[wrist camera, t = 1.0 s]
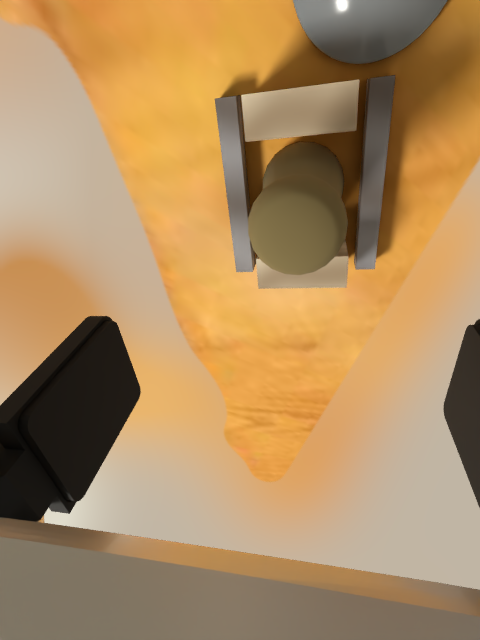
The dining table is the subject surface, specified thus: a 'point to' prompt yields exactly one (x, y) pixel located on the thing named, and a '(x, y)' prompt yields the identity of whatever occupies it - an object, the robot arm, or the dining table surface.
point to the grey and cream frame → (303, 120)
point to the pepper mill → (299, 210)
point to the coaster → (365, 26)
